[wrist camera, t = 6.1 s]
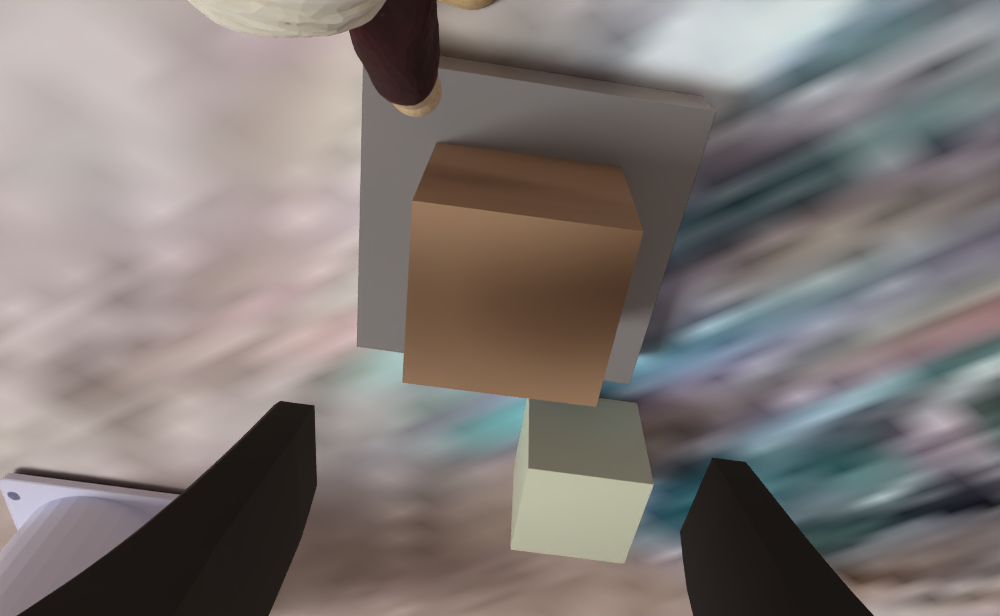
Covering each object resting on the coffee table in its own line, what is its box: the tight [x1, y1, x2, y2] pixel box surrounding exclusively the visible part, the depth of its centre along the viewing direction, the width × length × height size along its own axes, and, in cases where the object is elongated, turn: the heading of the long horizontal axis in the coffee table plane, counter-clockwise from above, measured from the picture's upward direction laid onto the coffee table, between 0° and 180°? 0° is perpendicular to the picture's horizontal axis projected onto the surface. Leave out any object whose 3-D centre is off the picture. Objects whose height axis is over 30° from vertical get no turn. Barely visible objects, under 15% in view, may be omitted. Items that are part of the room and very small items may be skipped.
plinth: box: [357, 56, 716, 384], centre depth 19 cm, size 9×9×2 cm
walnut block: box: [402, 142, 644, 407], centre depth 17 cm, size 5×5×4 cm
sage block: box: [511, 398, 654, 564], centre depth 23 cm, size 4×4×4 cm
